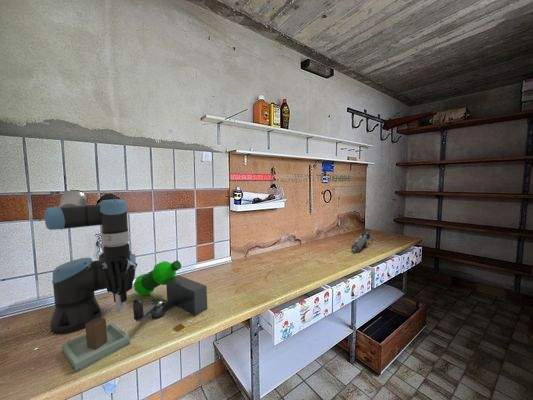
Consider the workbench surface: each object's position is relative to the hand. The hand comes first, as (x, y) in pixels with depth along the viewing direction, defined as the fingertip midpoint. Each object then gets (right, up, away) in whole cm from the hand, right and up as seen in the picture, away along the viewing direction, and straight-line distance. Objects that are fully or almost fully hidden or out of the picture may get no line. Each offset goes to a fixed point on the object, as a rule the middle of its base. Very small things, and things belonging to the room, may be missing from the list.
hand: (121, 310), depth 80 cm
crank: (+7, -3, +6) cm, 10 cm away
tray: (-3, -9, -7) cm, 12 cm away
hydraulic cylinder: (+124, +1, +97) cm, 157 cm away
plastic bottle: (-10, -3, +29) cm, 31 cm away
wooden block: (-3, -8, -7) cm, 11 cm away
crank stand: (+15, -7, +13) cm, 21 cm away
